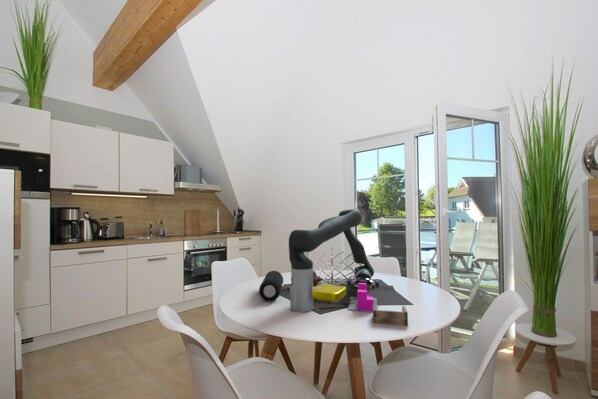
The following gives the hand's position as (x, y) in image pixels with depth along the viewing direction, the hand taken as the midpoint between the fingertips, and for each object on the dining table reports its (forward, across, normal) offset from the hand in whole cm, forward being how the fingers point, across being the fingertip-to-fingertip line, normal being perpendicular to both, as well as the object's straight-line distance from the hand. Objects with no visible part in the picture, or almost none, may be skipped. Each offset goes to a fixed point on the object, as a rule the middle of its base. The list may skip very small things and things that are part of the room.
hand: (362, 286), depth 130 cm
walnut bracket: (+18, +10, +7) cm, 22 cm away
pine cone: (-22, -30, +8) cm, 38 cm away
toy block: (+2, +1, +7) cm, 8 cm away
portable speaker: (-6, -44, +8) cm, 45 cm away
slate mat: (+1, 0, +8) cm, 8 cm away
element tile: (-8, -17, +8) cm, 21 cm away
